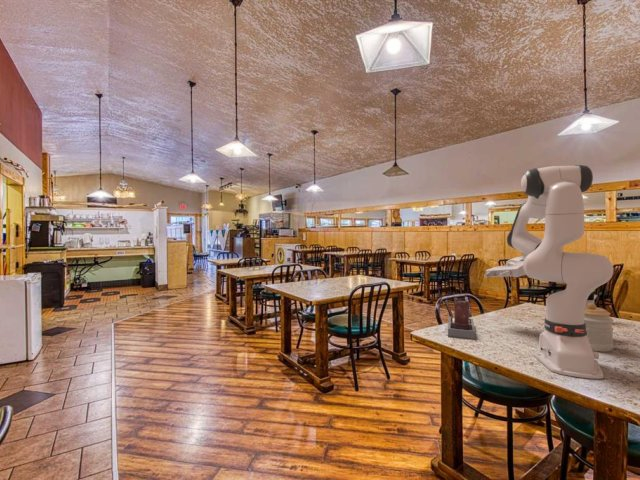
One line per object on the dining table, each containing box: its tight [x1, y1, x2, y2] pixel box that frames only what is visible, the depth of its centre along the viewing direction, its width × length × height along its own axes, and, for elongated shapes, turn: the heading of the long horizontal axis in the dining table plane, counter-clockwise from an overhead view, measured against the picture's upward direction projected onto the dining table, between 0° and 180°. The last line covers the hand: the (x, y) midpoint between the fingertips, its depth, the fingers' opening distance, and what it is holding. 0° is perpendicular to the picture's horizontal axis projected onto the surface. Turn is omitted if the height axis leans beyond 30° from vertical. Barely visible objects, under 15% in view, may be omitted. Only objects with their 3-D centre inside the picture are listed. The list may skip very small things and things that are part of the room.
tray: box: [447, 316, 476, 340], centre depth 151 cm, size 22×11×4 cm, turn 157°
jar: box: [584, 302, 614, 353], centre depth 129 cm, size 13×13×18 cm
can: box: [453, 299, 470, 330], centre depth 148 cm, size 6×6×14 cm
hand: (492, 276), depth 149 cm, fingers open, 8 cm apart
